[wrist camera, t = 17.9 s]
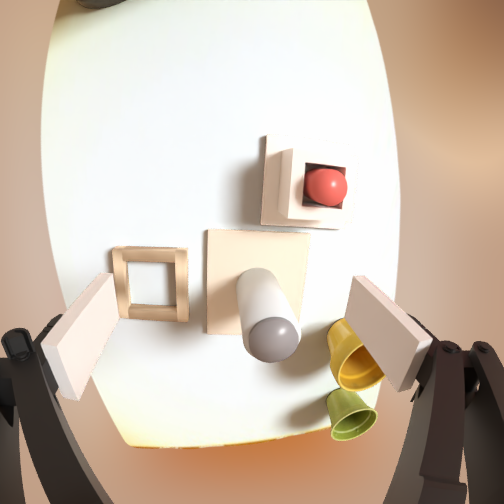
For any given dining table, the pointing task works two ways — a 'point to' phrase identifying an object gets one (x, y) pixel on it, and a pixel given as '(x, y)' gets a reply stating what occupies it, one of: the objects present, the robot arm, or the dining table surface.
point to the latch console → (292, 182)
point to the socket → (151, 255)
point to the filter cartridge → (266, 317)
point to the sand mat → (244, 258)
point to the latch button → (325, 186)
